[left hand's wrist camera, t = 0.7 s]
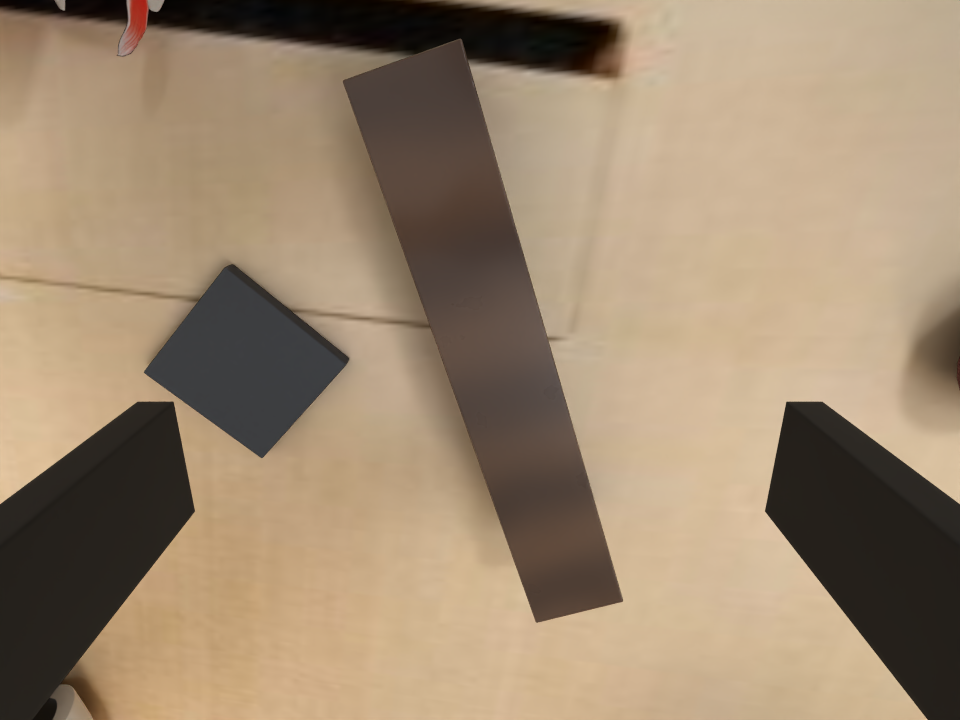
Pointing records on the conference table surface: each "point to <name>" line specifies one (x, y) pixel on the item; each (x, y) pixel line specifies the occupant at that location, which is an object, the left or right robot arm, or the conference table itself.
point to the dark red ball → (958, 373)
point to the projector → (63, 706)
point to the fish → (132, 22)
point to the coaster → (246, 362)
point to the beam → (485, 320)
